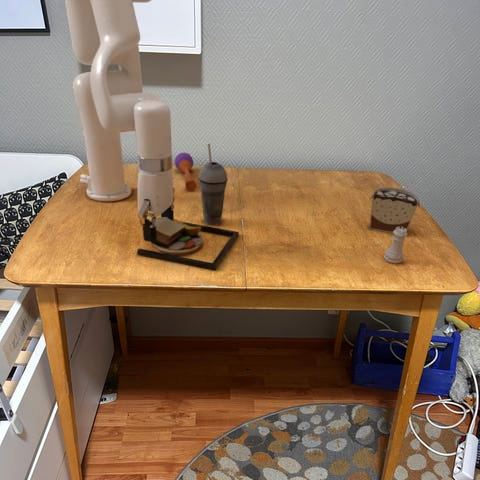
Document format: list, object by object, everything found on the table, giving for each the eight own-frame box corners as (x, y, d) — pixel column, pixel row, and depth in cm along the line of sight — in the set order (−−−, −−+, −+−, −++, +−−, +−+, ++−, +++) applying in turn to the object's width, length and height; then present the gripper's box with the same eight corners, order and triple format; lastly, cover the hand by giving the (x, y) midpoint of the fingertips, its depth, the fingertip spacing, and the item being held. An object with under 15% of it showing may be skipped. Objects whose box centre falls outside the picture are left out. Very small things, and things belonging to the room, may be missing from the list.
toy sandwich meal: (180, 262, 106) (179, 243, 103) (137, 244, 112) (135, 226, 109) (213, 242, 115) (213, 224, 112) (172, 226, 120) (171, 209, 118)
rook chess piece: (380, 255, 114) (388, 224, 109) (398, 255, 114) (407, 224, 109) (386, 264, 110) (395, 233, 105) (405, 264, 110) (414, 233, 106)
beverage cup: (222, 229, 121) (224, 150, 109) (195, 225, 122) (194, 147, 110) (229, 217, 126) (231, 141, 114) (202, 214, 127) (202, 138, 115)
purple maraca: (179, 178, 137) (172, 151, 151) (183, 196, 141) (176, 168, 156) (198, 174, 137) (190, 147, 152) (202, 192, 141) (193, 165, 156)
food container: (412, 227, 127) (422, 191, 121) (410, 236, 123) (421, 200, 116) (366, 218, 130) (374, 183, 124) (363, 227, 125) (371, 191, 119)
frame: (137, 254, 108) (137, 250, 107) (169, 223, 122) (169, 219, 121) (214, 270, 104) (215, 265, 103) (238, 236, 118) (239, 231, 117)
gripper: (156, 149, 111) (160, 216, 121) (120, 172, 97) (128, 245, 108) (186, 153, 109) (187, 221, 120) (153, 177, 96) (158, 251, 106)
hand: (159, 232), depth 114 cm, fingers open, 9 cm apart
